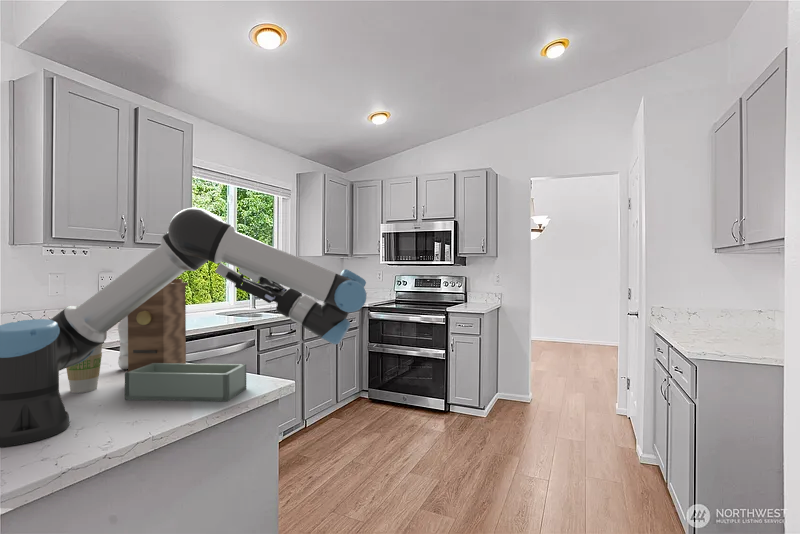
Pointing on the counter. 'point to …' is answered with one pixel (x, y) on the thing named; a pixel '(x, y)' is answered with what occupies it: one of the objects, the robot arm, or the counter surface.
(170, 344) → the brown wooden box
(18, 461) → the counter surface
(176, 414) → the counter surface
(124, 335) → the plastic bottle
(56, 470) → the counter surface
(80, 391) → the coffee cup
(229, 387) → the tray
